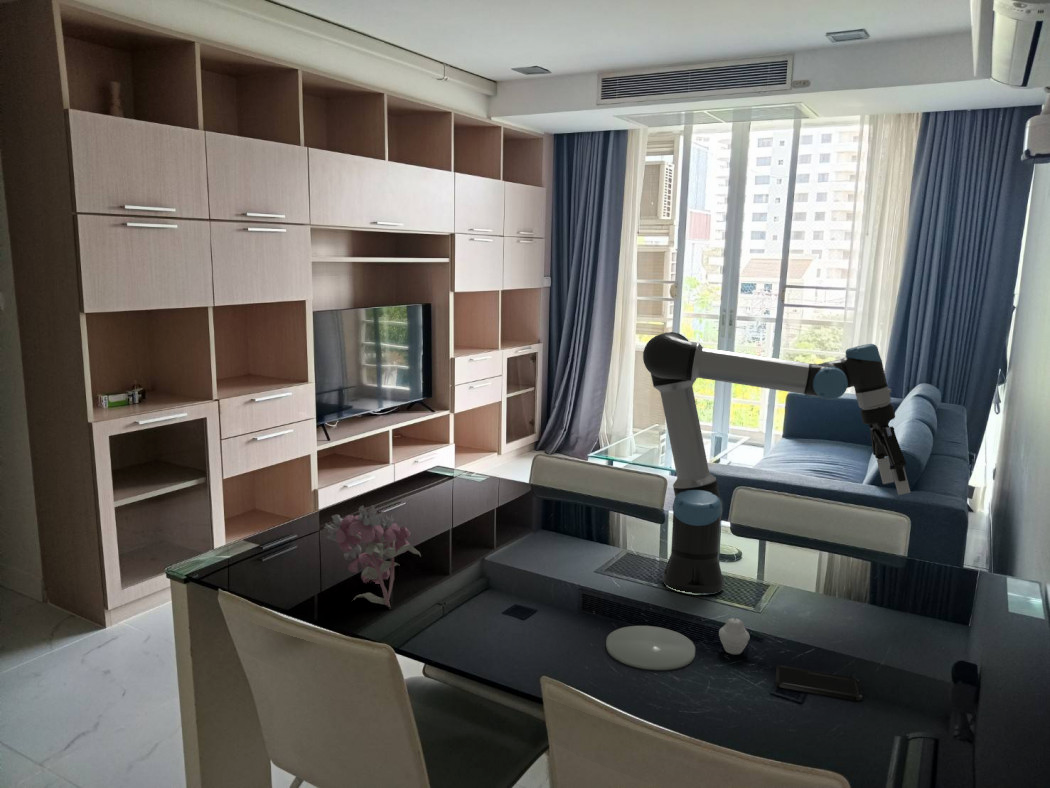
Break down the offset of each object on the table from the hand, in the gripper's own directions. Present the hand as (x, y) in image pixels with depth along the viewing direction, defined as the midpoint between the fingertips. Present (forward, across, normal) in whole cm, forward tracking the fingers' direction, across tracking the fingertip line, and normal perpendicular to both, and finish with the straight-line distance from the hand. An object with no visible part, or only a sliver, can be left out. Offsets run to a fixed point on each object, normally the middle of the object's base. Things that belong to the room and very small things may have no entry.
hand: (896, 488), depth 190 cm
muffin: (+15, -44, +48) cm, 67 cm away
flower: (-9, -33, +128) cm, 132 cm away
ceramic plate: (+10, -48, +64) cm, 80 cm away
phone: (+20, -55, +34) cm, 68 cm away
